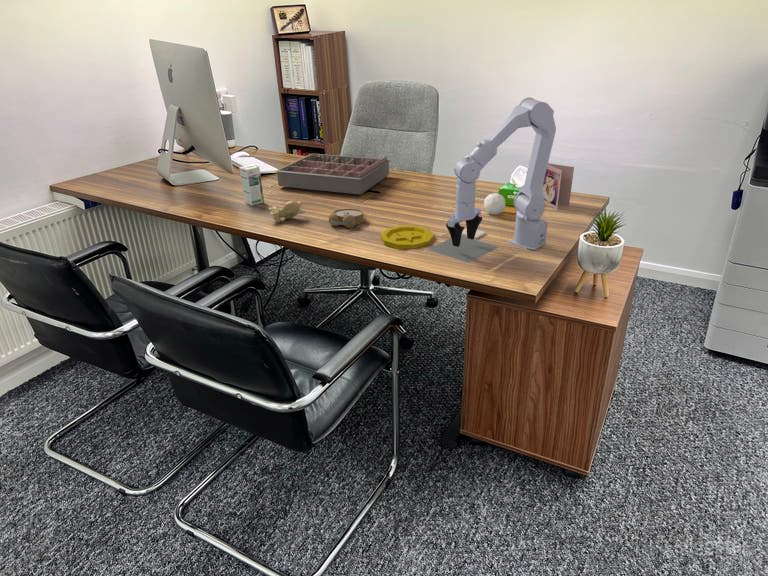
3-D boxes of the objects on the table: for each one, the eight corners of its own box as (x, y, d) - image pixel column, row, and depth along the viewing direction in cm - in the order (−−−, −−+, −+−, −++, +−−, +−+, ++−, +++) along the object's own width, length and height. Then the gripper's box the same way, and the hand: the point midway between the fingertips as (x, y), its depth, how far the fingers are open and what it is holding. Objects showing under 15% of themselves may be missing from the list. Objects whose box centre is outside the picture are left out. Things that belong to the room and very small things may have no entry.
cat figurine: (267, 203, 203) (298, 191, 203) (274, 217, 208) (304, 206, 208) (269, 216, 197) (301, 204, 197) (277, 230, 202) (308, 219, 203)
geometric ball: (497, 219, 207) (512, 202, 204) (491, 218, 200) (506, 201, 197) (483, 206, 209) (497, 189, 206) (476, 205, 202) (491, 187, 199)
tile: (475, 241, 183) (485, 236, 187) (475, 237, 182) (486, 232, 186) (458, 236, 187) (468, 231, 191) (458, 232, 186) (468, 227, 190)
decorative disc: (412, 255, 174) (412, 249, 173) (370, 242, 184) (370, 236, 184) (443, 238, 185) (443, 233, 185) (402, 227, 196) (402, 222, 195)
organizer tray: (312, 170, 265) (311, 149, 260) (391, 177, 251) (391, 155, 247) (276, 189, 239) (273, 166, 234) (361, 198, 225) (360, 174, 220)
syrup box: (251, 205, 219) (246, 169, 213) (244, 202, 223) (239, 166, 217) (264, 202, 223) (259, 166, 216) (256, 199, 226) (252, 163, 220)
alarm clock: (368, 210, 203) (352, 216, 190) (368, 223, 205) (351, 230, 191) (340, 207, 207) (322, 213, 193) (340, 220, 208) (322, 227, 195)
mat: (498, 248, 176) (499, 247, 176) (469, 264, 166) (469, 263, 166) (457, 236, 186) (457, 234, 186) (427, 250, 176) (427, 249, 176)
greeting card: (537, 201, 216) (542, 163, 209) (554, 199, 218) (559, 161, 211) (554, 210, 206) (559, 170, 200) (572, 208, 208) (577, 168, 202)
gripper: (468, 192, 176) (466, 232, 182) (439, 203, 167) (438, 245, 173) (487, 196, 172) (484, 237, 178) (459, 208, 162) (457, 251, 169)
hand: (463, 242), depth 175 cm, fingers open, 7 cm apart
